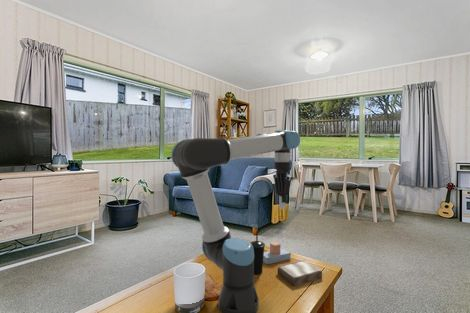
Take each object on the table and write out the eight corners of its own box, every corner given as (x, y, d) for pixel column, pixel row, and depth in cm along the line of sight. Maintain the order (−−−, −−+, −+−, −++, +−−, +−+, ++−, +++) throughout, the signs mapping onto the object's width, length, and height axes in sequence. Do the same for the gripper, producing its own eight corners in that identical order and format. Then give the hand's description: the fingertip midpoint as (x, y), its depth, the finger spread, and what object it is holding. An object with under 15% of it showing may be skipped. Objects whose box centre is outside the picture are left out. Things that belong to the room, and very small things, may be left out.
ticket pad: (293, 286, 104) (293, 277, 104) (277, 273, 115) (277, 266, 115) (322, 278, 110) (322, 270, 110) (304, 267, 121) (304, 259, 121)
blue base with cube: (266, 264, 124) (266, 248, 124) (259, 259, 130) (259, 243, 130) (290, 259, 130) (290, 243, 130) (282, 254, 137) (282, 239, 137)
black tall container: (246, 274, 115) (246, 231, 115) (252, 267, 121) (252, 227, 121) (261, 277, 111) (261, 234, 111) (267, 270, 118) (267, 229, 118)
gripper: (296, 161, 117) (296, 210, 117) (280, 161, 128) (280, 205, 129) (283, 162, 113) (283, 212, 114) (268, 161, 125) (268, 206, 125)
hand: (282, 208), depth 121 cm, fingers closed
